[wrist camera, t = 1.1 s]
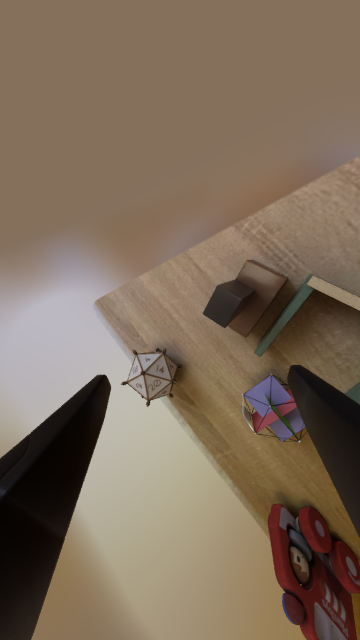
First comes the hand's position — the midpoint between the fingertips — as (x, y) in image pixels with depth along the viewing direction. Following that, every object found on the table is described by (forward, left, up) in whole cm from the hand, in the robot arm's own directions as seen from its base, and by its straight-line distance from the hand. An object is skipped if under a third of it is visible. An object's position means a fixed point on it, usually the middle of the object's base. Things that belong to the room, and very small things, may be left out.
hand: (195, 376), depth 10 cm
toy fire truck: (-23, +24, -17) cm, 38 cm away
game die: (+7, +16, -17) cm, 25 cm away
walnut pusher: (+2, -1, -17) cm, 17 cm away
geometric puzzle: (-8, +8, -17) cm, 21 cm away
